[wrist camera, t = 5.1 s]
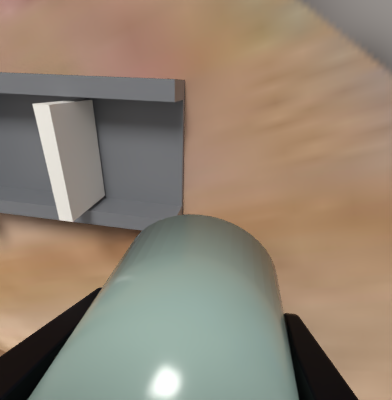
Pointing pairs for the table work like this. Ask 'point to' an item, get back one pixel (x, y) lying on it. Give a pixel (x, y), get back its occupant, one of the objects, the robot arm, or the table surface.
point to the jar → (181, 322)
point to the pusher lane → (107, 142)
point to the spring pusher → (71, 155)
